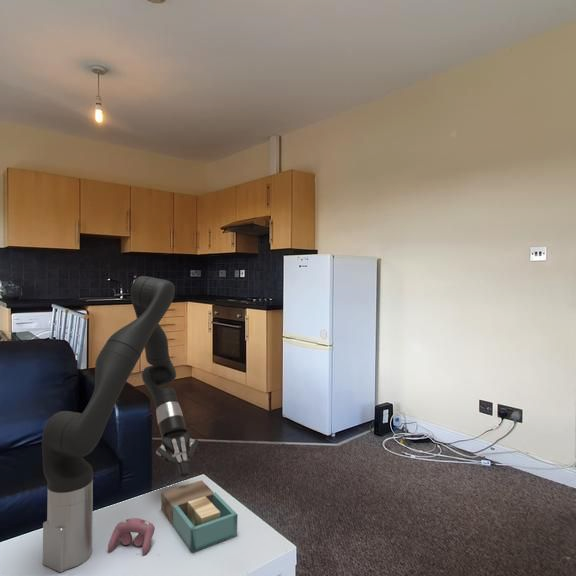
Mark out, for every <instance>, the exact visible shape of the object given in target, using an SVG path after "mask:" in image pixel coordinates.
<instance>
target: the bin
mask: <svg viewBox="0 0 576 576" xmlns="http://www.w3.org/2000/svg"><path fill="white" fill-rule="evenodd" d="M212 504H213V505H214V506H215V507H216V508H217V509H218V510H219V511H220V518H218V519H215V520H213V521H210V522H207V523H204V524H201V525H198V526H195V527H194V525H193V524H192V523H191V522H190V520H189V519H188V518H187V516H186V515H185V514H184V513H183V511H182V510H181V509H180V508H179V506H178V505H177V504H176V505H173V526H172V527H173V529H174V530H175V532H176V533H177V534H178V536H179V538H180V539H181V540H182V542H183V543H184V545H185V546H186V547H187V548H188V550H189V552H190V553H191V554H194V553H196V552H199V551H202V550H204V549H207V548H209V547H212V546H215V545H217V544H219V543H223V542H225V541H227V540H230V539H233V538H235V537H237V536H238V513H237V512H236V511H235V510H234V509H233V508H232V507H231V506H230V505H229V504H228V503H227V502H226V501H225V500H224V499H223V498H222V497H221V496H220V495H219V494H218V493H217V492H216V491H215V492H214V493H212Z"/></svg>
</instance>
